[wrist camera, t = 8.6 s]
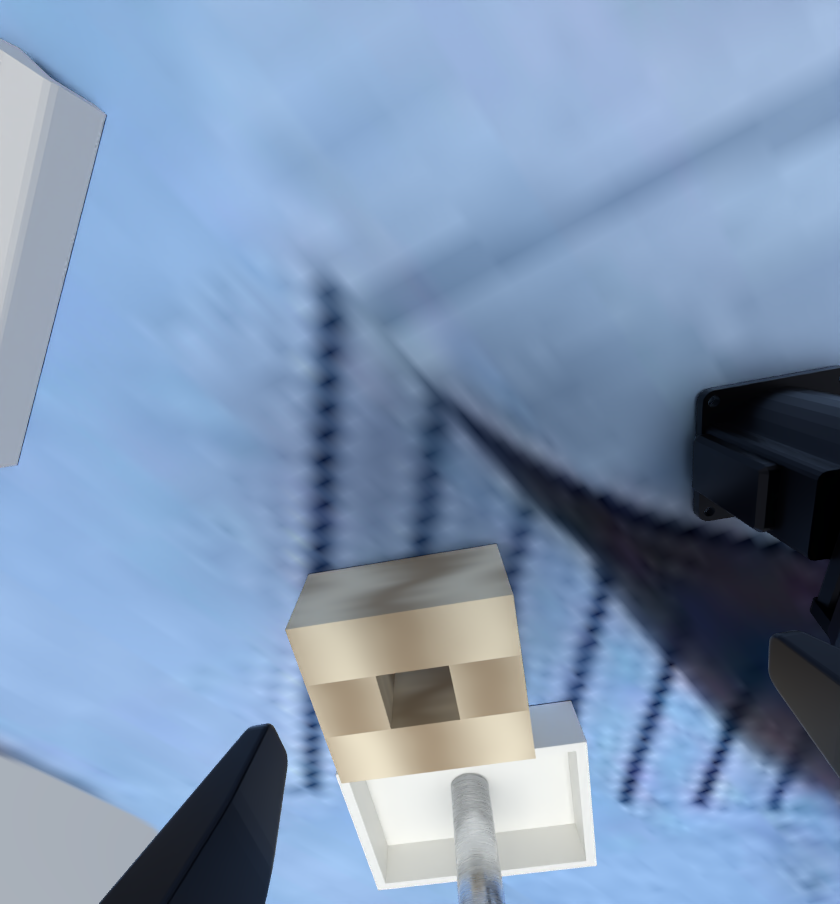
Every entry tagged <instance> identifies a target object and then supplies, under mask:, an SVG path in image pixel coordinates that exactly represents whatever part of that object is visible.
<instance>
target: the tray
mask: <svg viewBox="0 0 840 904" xmlns="http://www.w3.org/2000/svg"><path fill="white" fill-rule="evenodd" d="M529 712H530V719H531V727H532V734H533V741H534V748H535V755H536V758H535V759H527V760H520V761H512V762H504V763H496V764H489V765H481V766H473V767H466V768H458V769H450V770H442V771H435V772H427V773H419V774H411V775H404V776H396V777H388V778H381V779H373V780H365V781H357V782H350V783H341V781H340V778H339V775H338V772H337V770H336V777H337V780H338V782H339V785H340V788H341V791H342V793H343V796H344V799H345V801H346V804H347V807H348V810H349V812H350V815H351V818H352V820H353V823H354V826H355V828H356V831H357V834H358V837H359V839H360V842H361V845H362V847H363V850H364V853H365V855H366V858H367V861H368V864H369V866H370V869H371V872H372V874H373V877H374V880H375V883H376V885H377V888H378V890H385V889H394V888H403V887H411V886H420V885H429V884H438V883H447V882H456V881H457V871H456V856H455V841H454V826H453V810H452V795H451V784H452V782H453V780H454V779H456V778H457V777H459V776H461V775H465V774H477V775H480V776H482V777H484V778H485V779H486V780H487V782H488V785H489V792H490V799H491V806H492V813H493V820H494V827H495V834H496V841H497V848H498V855H499V862H500V869H501V876H509V875H518V874H527V873H536V872H545V871H554V870H563V869H572V868H580V867H589V866H597V864H596V851H595V839H594V826H593V814H592V801H591V789H590V776H589V764H588V752H587V741H586V739H585V736H584V734H583V731H582V728H581V726H580V723H579V721H578V718H577V715H576V713H575V710H574V707H573V705H572V702H571V701H565V702H557V703H550V704H543V705H536V706H529Z"/></svg>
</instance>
